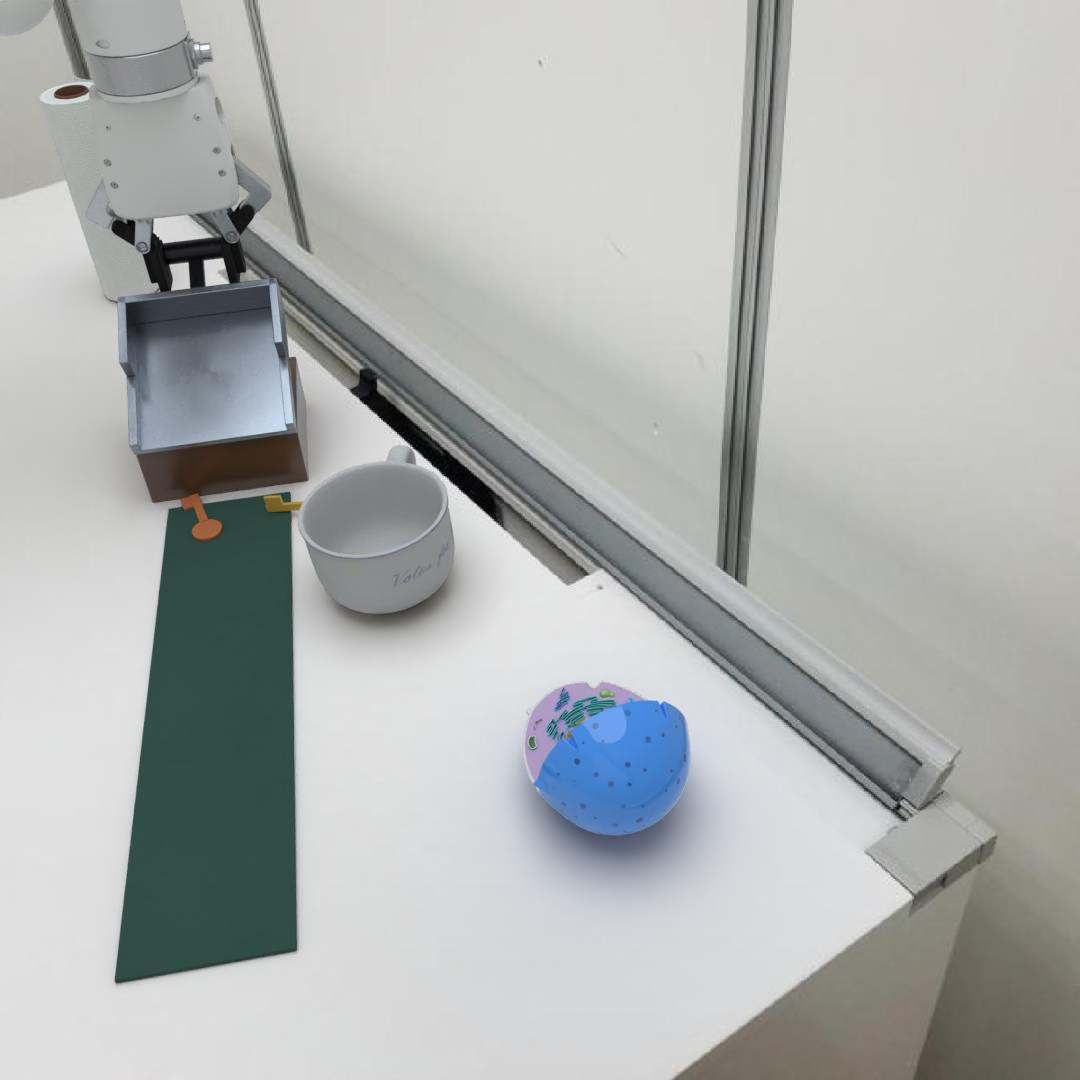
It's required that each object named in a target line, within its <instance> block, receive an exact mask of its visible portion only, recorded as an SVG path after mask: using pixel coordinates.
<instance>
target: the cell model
mask: <svg viewBox="0 0 1080 1080" xmlns="http://www.w3.org/2000/svg"><path fill="white" fill-rule="evenodd" d="M525 713H526V714H527V719H526V723H525V726H524V730H523V734H522V746H521V747H522V757H523V762H524V767H525V771H526V773H527V775H528V779H530V781H531V783H532V785H533V786H534V788H535V789H536V791H537V793H538V794H539V796H540V797H541V799H543V801H545V802H546V803H547V804H548V806H550V807H551V808H552V810H554V811H555V812H557V813H558V814H559V815H560V816H562V817H563V818H564V819H566V820H567V821H569V822H570V823H571V824H573V825H575V826H576V827H579V828H580V829H583V830H585V831H587V832H590V833H593V834H597V835H602V836H617V837H618V836H626V835H627V836H628V835H632V834H635V833H639V832H642V831H644V830H647V829H648V828H650V827H653V826H654V825H655V824H656V823H658V822H659V821H661V820H662V819H664V818H665V817H666V816H667V815H668V814H669V813H670V812H671V811H672V809H673V808H674V807H675V806H676V804H677V803H678V802H679V800H680V798H681V797H682V795H683V793H684V791H685V789H686V786H687V784H688V781H689V776H690V771H691V761H692V760H691V758H692V752H691V751H692V750H691V747H692V746H691V739H690V731H689V730H690V729H689V725H688V721H687V719H686V717H685V715H684V714H683V713H682V711H681V710H679V708H677V707H676V706H674V705H673V704H671V703H669V702H667V701H665V700H664V701H661V703H660V702H659V701H658V700H652V699H651V700H649V699H647V698H646V697H644V696H642V695H641V694H639V693H638V692H636V691H633V690H632V689H629V688H627V687H625V686H622V685H619V684H617V683H614V682H611V681H605V680H599V681H598V683H597V685H596V686H592V685H591V684H590V683H589V682H588V680H585V681H573V682H569V683H565V684H562V685H560V686H558V687H555V688H554V689H552V690H551V691H549V692H547V693H545V695H543V696H542V698H540V699H539V700H538V701H537V702H536V703H535V705H533V706H532V707H528V708H527V709H526V710H525Z"/></svg>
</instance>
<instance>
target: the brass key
mask: <svg viewBox="0 0 1080 1080" xmlns="http://www.w3.org/2000/svg"><path fill="white" fill-rule="evenodd" d="M264 501H265V503H266V509H267V511H268V512H281V511H291V512H294V511H295V512H296V511H299V510H300V507H301V505H302V503H303V501H304V500H303V501H291V502H286V503H283V500H282V498H281V495H273V496H264Z"/></svg>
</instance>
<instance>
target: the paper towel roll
mask: <svg viewBox="0 0 1080 1080" xmlns="http://www.w3.org/2000/svg"><path fill="white" fill-rule="evenodd" d="M73 79H74V82H67V83H63V84H60V85H55V86H53V87H51V88H48V89H45V91H43V92H42V93H40V95H39V98H38V100H39V103H40V105H41V106H40V107H41V109H42V112H43V115H44V118H45V121H46V124H47V127H48V130H49V133H50V137H51V139H52V142H53V145H54V149H55V152H56V155H57V157H58V161H59V164H60V167H61V169H62V173H63V176H64V179H65V181H66V184H67V187H68V191H69V193H70V196H71V201H72V203H73V206H74V210H75V212H76V215H77V219H78V221H79V224H80V228H81V230H82V233H83V236H84V239H85V243H86V244H87V248H88V252H89V254H90V257H91V261H92V263H93V267H94V270H95V272H96V275H97V278H98V281H99V285H100V287H101V291H102V293H103V294H104V296H105V297H106V298H107V299H108V300H111V301H113V302H117V297H123V296H132V295H141V294H149V293H157V291H158V289H159V286H158V283H154V284H152V283H151V281H150V278H149V275H148V271H147V268H146V265H145V261H144V258H143V255H142V254H141V253H139V252H137V251H136V249H135V247H134V246H133V245H131V244H130V243H128V242H126V241H125V240H123V239H121V238H120V237H118V236H117V235H115V234H114V233H113V232H112V231H111V230H109V229H106V228H104V227H102V226H100V225H98V224H96V223H94V222H92V221H90V220H89V219H87V217H86V211H87V207H88V205H89V203H90V201H91V199H92V197H93V195H94V193H95V191H96V189H97V187H98V185H99V183H100V181H101V179H102V177H103V175H102V171H101V166H100V162H99V157H98V152H97V147H96V143H95V138H94V132H93V126H92V119H91V112H90V102H89V88H90V86H91V85H93V84H94V80H93V79H85V78H80V77H77V76H76V75H74V74H73ZM109 207H110V208H111V209H112V210H113V208H112V206H111V204H110V203H109ZM134 221H135V222H136V220H134Z"/></svg>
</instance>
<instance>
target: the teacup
mask: <svg viewBox="0 0 1080 1080" xmlns="http://www.w3.org/2000/svg"><path fill="white" fill-rule="evenodd" d="M444 483H445V482H444V481H442V480H441V478H440V477H439V476H438V475H437V474H435V472H433V471H431V470H429V468H426V467H423V466H420V465H419V464H417V459H416V455H415V451H414V450H413V449H412V447H410V446H408V445H400V444H399V445H395V446H392V447H391V449H389V452H388V453H387V458H386V460H383V461H374V462H368V463H362V464H358V465H354V466H351V467H348V468H345V469H343V470H340V471H338V472H337V473H334V474H333V475H331V476H330V477H328V478H326V479H324V480H323V481H322V482H319V484H317V485H316V486H315V487H314V488H313V489H312V490H311V491H310V493H308V494H307V495H306V497H305V498H304V500H303V503H302V505H301V507H300V510H298V514H297V527H298V531H299V533H300V535H301V537H302V539H303V540H304V543H305V546H306V549H307V552H308V555H309V558H310V560H311V563H312V566H313V569H314V571H315V573H316V576H317V578H318V580H319V582H320V585H321V586H322V588H323V589H324V590H325V592H326V593H327V594H328V595H329V596H330V597H331V598H332V599H333V600H334V601H335V602H337V604H340V605H342V606H343V607H345V608H346V609H347V608H348V609H350V610H353V611H356V612H359V613H365V614H372V615H373V614H374V615H375V614H377V615H379V614H384V615H385V614H393V613H398V612H402V611H405V610H408V609H410V608H413V607H414V606H416V605H418V604H420V603H423V602H424V601H426V600H427V599H428V598H429V597H431V596H432V595H433V594H435V593H436V592H437V591H438V590H439V589H440V588H441V587H442V585H443V584H444V583H445V581H446V580H447V578H448V576H449V574H450V572H451V570H452V567H453V564H454V558H455V538H454V537H455V536H454V531H453V524H452V519H451V513H450V507H449V494H448V491H447V490H448V489H447V486H446V485H445V484H444Z"/></svg>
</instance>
